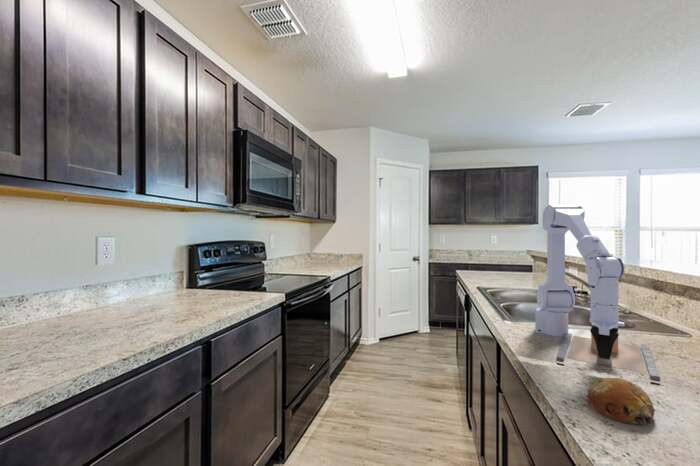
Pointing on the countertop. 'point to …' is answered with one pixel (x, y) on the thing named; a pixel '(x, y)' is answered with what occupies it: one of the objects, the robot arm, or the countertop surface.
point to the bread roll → (621, 400)
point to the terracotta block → (593, 346)
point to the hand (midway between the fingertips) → (604, 356)
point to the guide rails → (645, 348)
